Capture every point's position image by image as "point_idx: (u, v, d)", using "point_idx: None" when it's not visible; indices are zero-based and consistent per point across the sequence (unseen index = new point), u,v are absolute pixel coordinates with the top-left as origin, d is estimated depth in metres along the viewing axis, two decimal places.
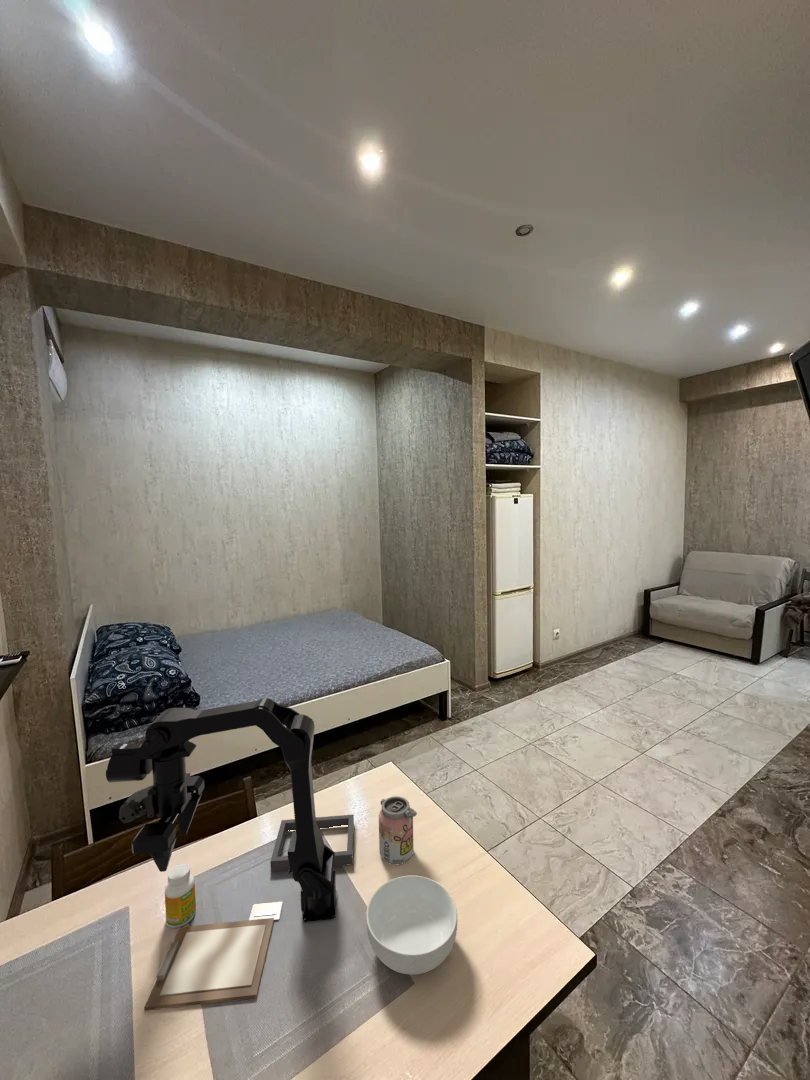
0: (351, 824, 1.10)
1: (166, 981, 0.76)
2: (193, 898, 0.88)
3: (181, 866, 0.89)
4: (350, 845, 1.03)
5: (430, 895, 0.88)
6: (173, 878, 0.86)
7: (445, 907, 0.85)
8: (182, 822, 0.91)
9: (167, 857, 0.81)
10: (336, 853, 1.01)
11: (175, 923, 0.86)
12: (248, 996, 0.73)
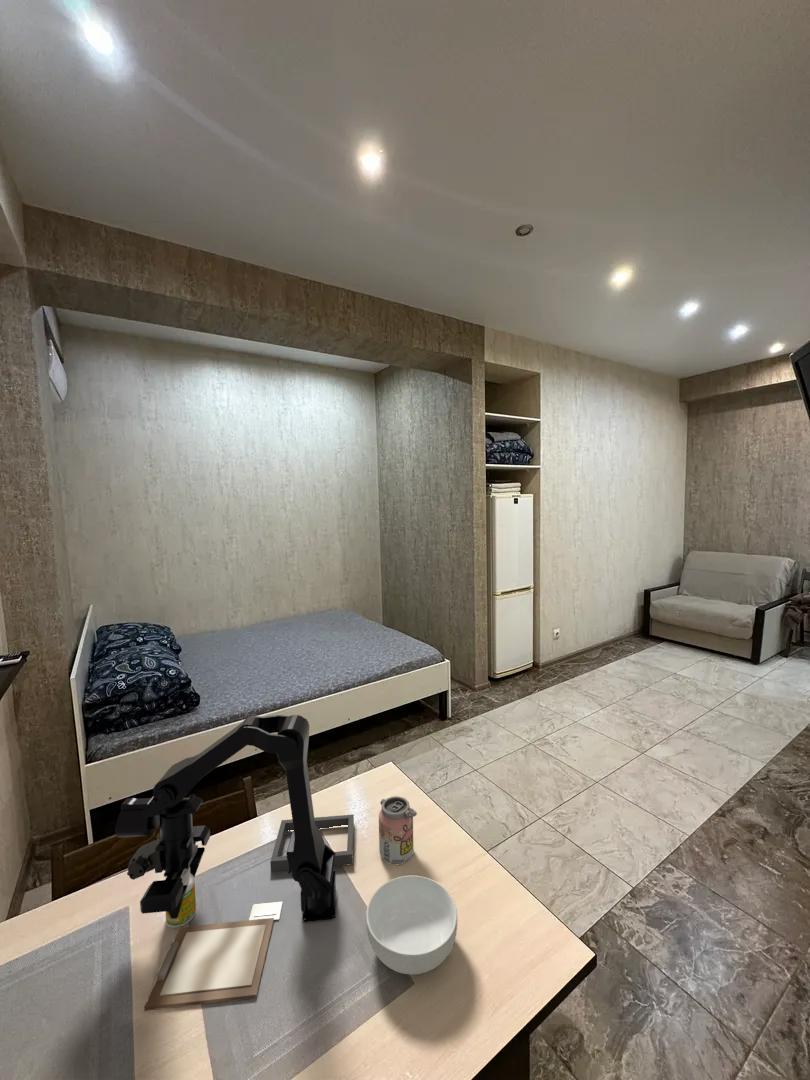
0: (351, 824, 1.10)
1: (166, 981, 0.76)
2: (193, 898, 0.88)
3: None
4: (350, 845, 1.03)
5: (430, 895, 0.88)
6: None
7: (445, 907, 0.85)
8: None
9: (178, 905, 0.84)
10: (336, 853, 1.01)
11: (175, 923, 0.86)
12: (248, 996, 0.73)
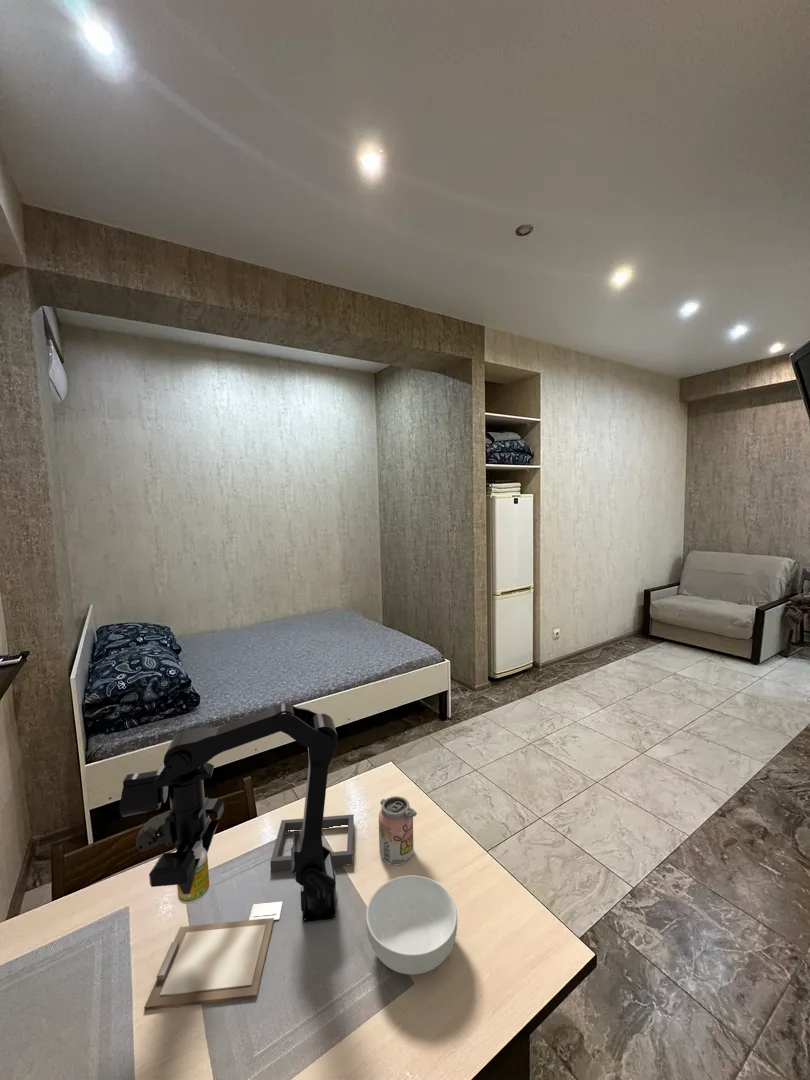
0: (351, 824, 1.10)
1: (166, 981, 0.76)
2: (206, 873, 0.83)
3: None
4: (350, 845, 1.03)
5: (430, 895, 0.88)
6: None
7: (445, 907, 0.85)
8: None
9: (190, 880, 0.79)
10: (336, 853, 1.01)
11: (187, 899, 0.80)
12: (248, 996, 0.73)
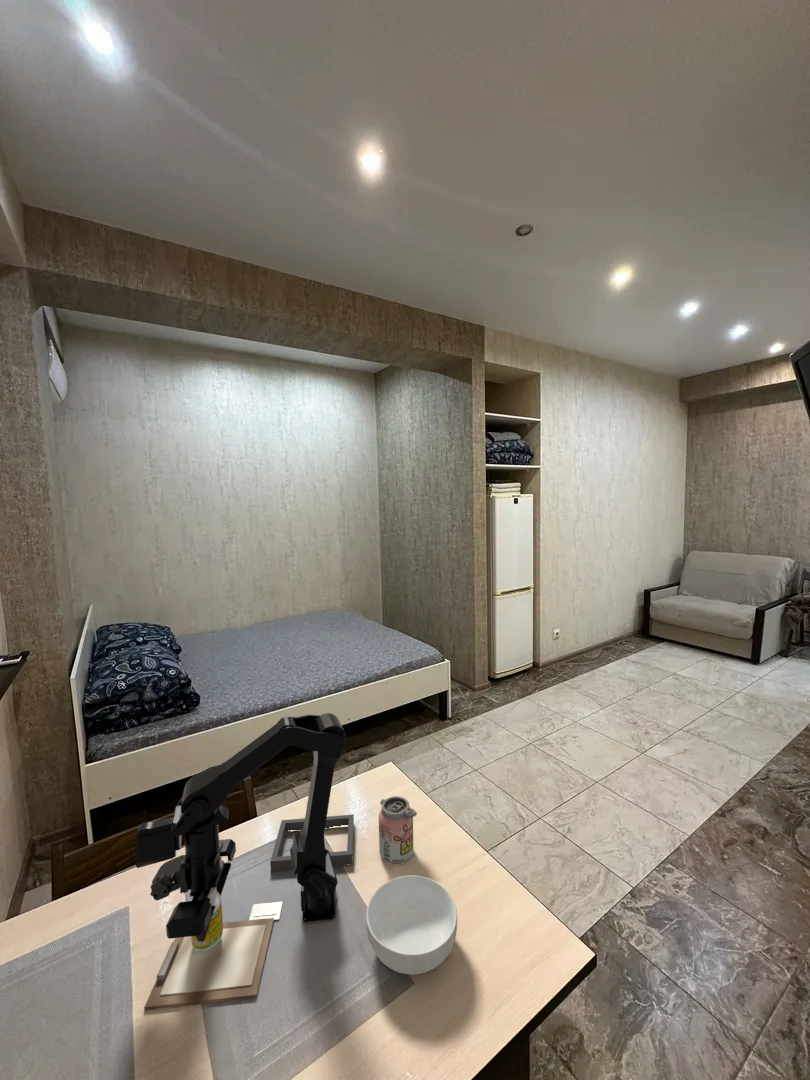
0: (351, 824, 1.10)
1: (166, 981, 0.76)
2: (220, 918, 0.82)
3: None
4: (350, 845, 1.03)
5: (430, 895, 0.88)
6: None
7: (445, 907, 0.85)
8: None
9: (206, 927, 0.78)
10: (336, 853, 1.01)
11: (202, 946, 0.80)
12: (248, 996, 0.73)
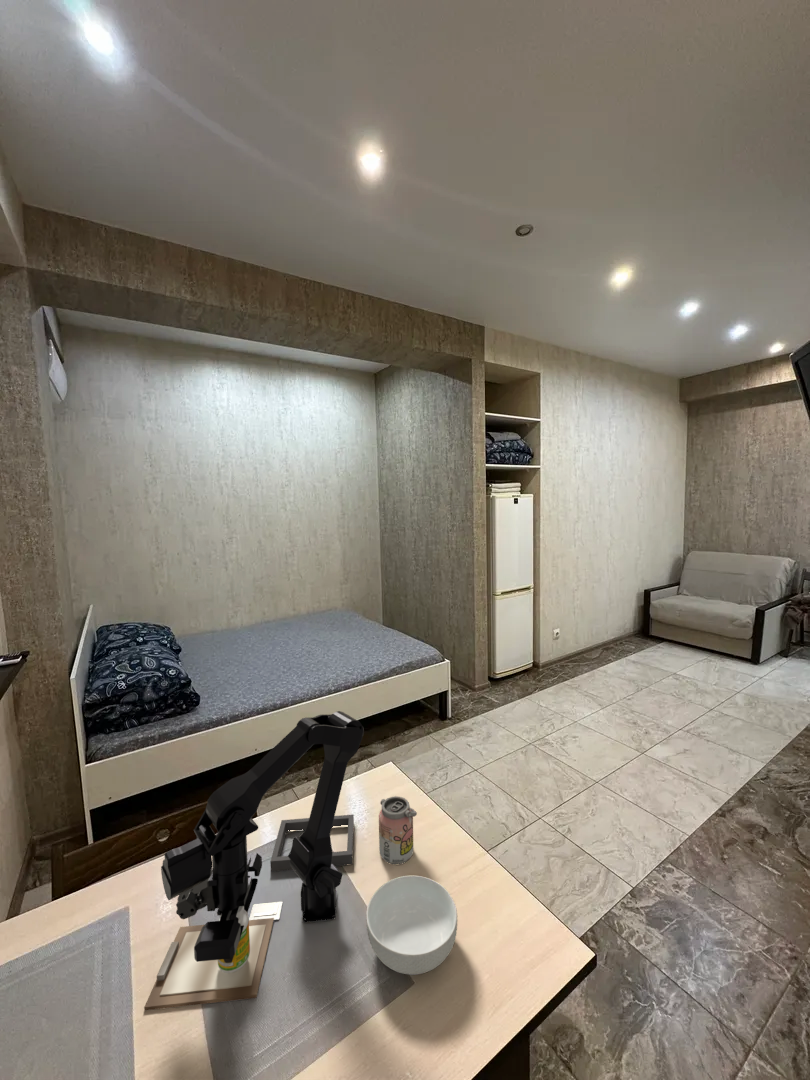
0: (351, 824, 1.10)
1: (166, 981, 0.76)
2: (248, 938, 0.78)
3: None
4: (350, 845, 1.03)
5: (430, 895, 0.88)
6: None
7: (445, 907, 0.85)
8: None
9: None
10: (336, 853, 1.01)
11: (229, 968, 0.76)
12: (248, 996, 0.73)
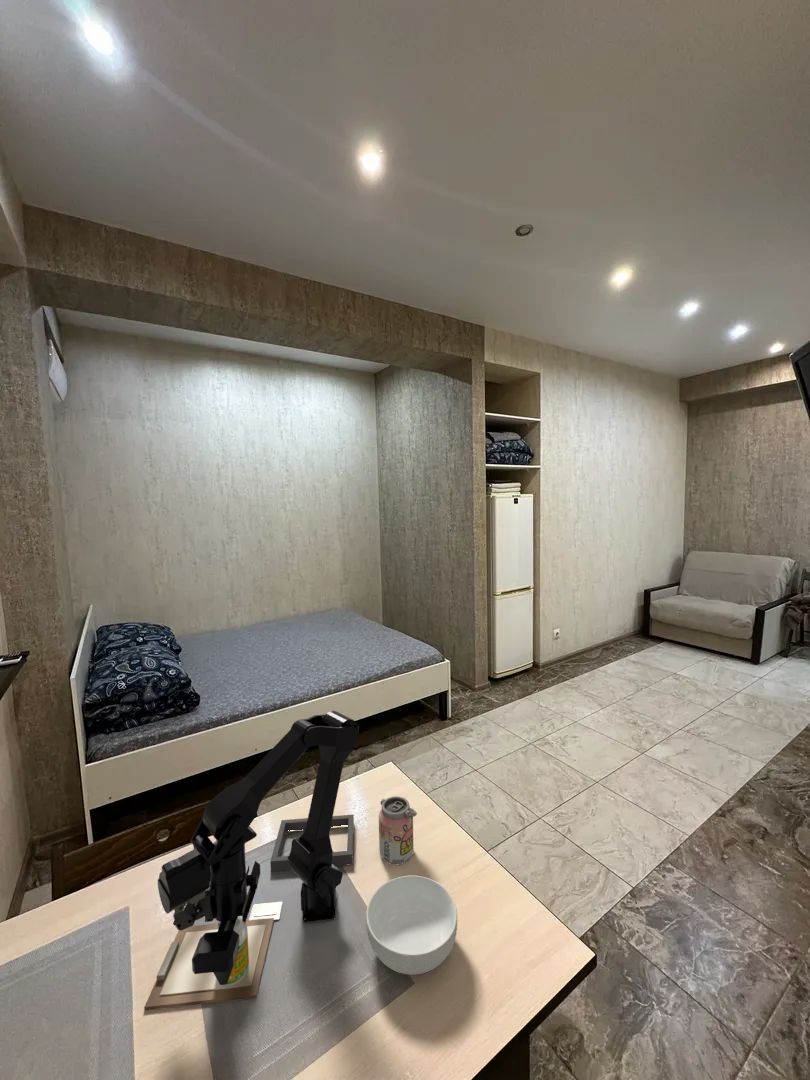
0: (351, 824, 1.10)
1: (166, 981, 0.76)
2: (247, 951, 0.77)
3: None
4: (350, 845, 1.03)
5: (430, 895, 0.88)
6: None
7: (445, 907, 0.85)
8: None
9: (229, 970, 0.71)
10: (336, 853, 1.01)
11: (228, 981, 0.74)
12: (248, 996, 0.73)
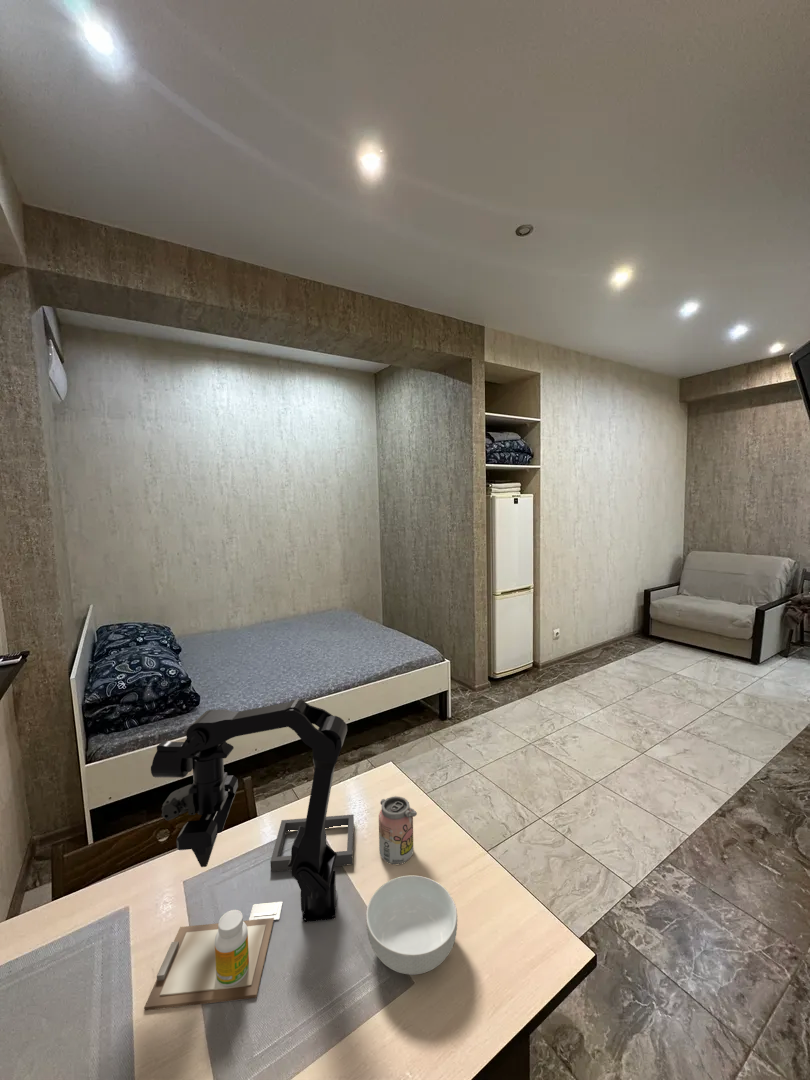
0: (351, 824, 1.10)
1: (166, 981, 0.76)
2: (247, 951, 0.77)
3: (232, 914, 0.77)
4: (350, 845, 1.03)
5: (430, 895, 0.88)
6: (226, 929, 0.75)
7: (445, 907, 0.85)
8: (218, 820, 0.95)
9: (208, 853, 0.84)
10: None
11: (228, 981, 0.74)
12: (248, 996, 0.73)
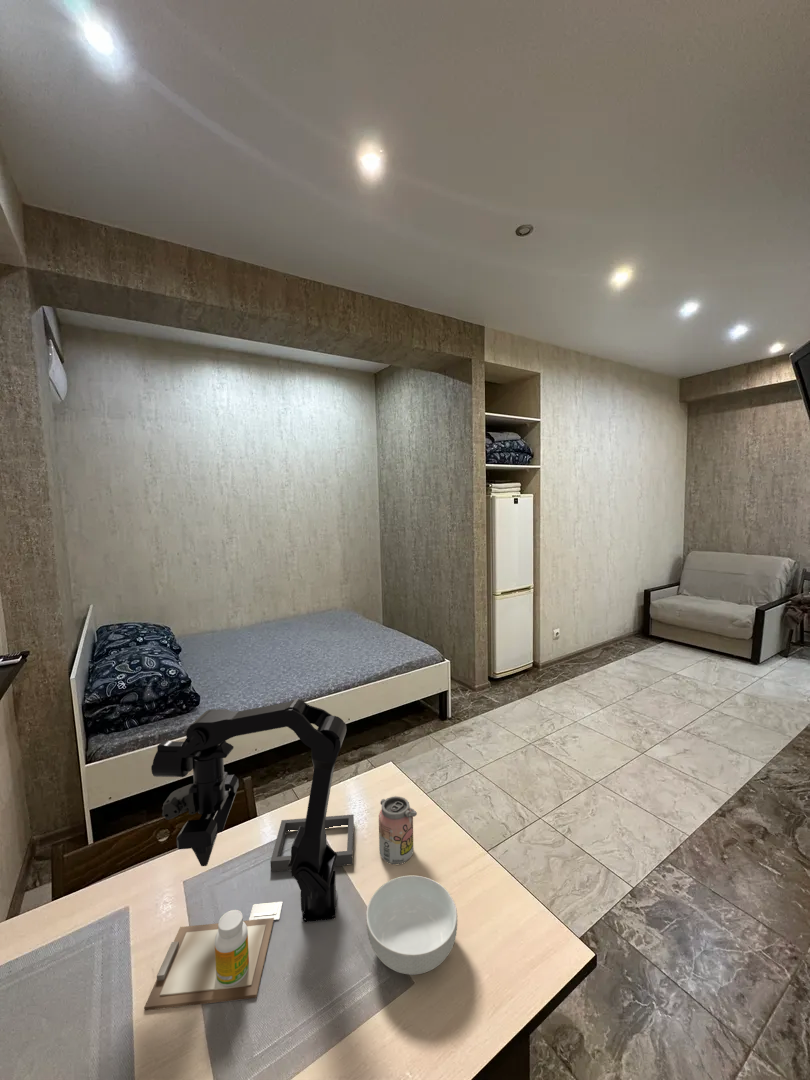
0: (351, 824, 1.10)
1: (166, 981, 0.76)
2: (247, 951, 0.77)
3: (232, 914, 0.77)
4: (350, 845, 1.03)
5: (430, 895, 0.88)
6: (226, 930, 0.75)
7: (445, 907, 0.85)
8: (218, 819, 0.95)
9: (209, 852, 0.85)
10: None
11: (228, 981, 0.74)
12: (248, 996, 0.73)
